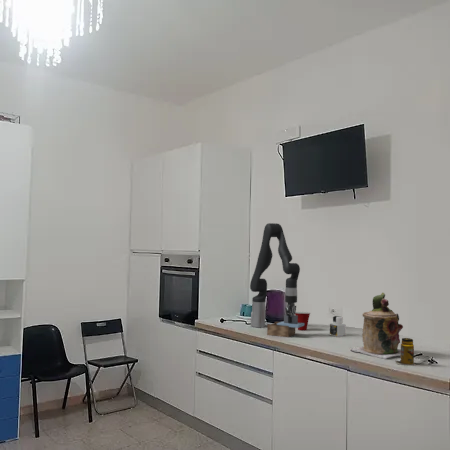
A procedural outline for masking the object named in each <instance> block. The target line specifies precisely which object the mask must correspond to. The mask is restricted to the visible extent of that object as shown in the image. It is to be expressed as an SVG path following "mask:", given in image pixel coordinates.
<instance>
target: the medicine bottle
mask: <svg viewBox="0 0 450 450" xmlns="http://www.w3.org/2000/svg"><path fill="white" fill-rule="evenodd" d="M343 320H344V319H343V317H342V316H340V315H334V316H333V317H332V323H329V335H330V334H331V335H330V336H333V335H335V337H344V336H343V335H345V336H346V327H347V326H346V324H345V323H343V322H344V321H343Z"/></svg>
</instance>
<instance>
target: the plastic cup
mask: <svg viewBox="0 0 450 450" xmlns="http://www.w3.org/2000/svg"><path fill="white" fill-rule="evenodd" d="M295 315H298V323H304V326H302V327H299V328H297V330H298V331H307V330H308V326H309V319H310V316H311V312H307V311H306V312H304V311H302V312H301V311H296V312H295Z"/></svg>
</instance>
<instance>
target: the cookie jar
mask: <svg viewBox="0 0 450 450" xmlns="http://www.w3.org/2000/svg"><path fill="white" fill-rule="evenodd" d="M385 298H386V294H385V292H381V294H378V295H375V296H373V298H372V310H369V311H364V312H363V313H362V315H361V316H362V318H363V326H362V334H361V335H362V336H361V337H362V342H363V346H357V347H350V348H349V350H350V352H354V353H361V354H362V355H365V356H370V357H373V358H379V359H384V360H386V359H391V358H394V357H401V348H400V349H399V344H401V339H400V332H401V331H402V329H403V328H404V326H403V324H402V323H399V321H400V316H399V314H398V313H395V312H394V311H393V310H392V309H390V308H389V307H388V306H389V305H390V304H389V300H388V299H385Z"/></svg>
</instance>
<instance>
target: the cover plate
mask: <svg viewBox="0 0 450 450" xmlns="http://www.w3.org/2000/svg"><path fill="white" fill-rule="evenodd" d="M279 322H280V323H277V325H283V326H289V327H294V328H295V329H298V328H299V327H302V326H304V323H298V315H292V322H291V323H288V316H287V315H286V314H284V315H283V321H279Z"/></svg>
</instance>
